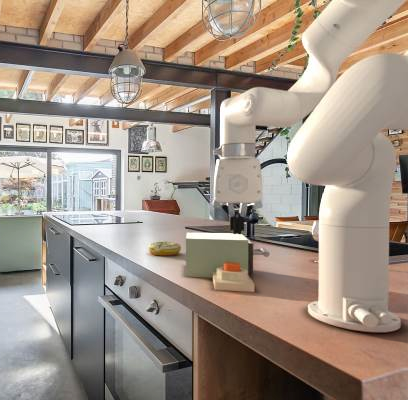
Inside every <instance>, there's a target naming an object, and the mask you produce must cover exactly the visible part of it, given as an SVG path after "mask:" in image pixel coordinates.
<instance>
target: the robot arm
mask: <svg viewBox="0 0 408 400" xmlns="http://www.w3.org/2000/svg"><path fill="white" fill-rule="evenodd" d="M407 1H408V0H331V1H330V2H329V3H328V4H327V5H326V7H325V8H323V10H322V11H321V12H320V13H319V14H318V15H317V16H316V18H315V19H314V20H313V21H312V23H311V24H310V25H309V26H308V27H307V28H306V29H305V30H304V31H303V33H302V36H301V43H302V46H303V48H304V49H305V51H306V53H307V54H308V58H309V59H308V64H307V67H306V69H305V71H304V72H303V74H302V75H301V76H300V77H299V78H298V80H297V81H296V82H295V83H294V84H293V85H292V86H291V87H290V88H289V89H288V90H283V89H277V88H270V87H265V86H255V87H252V88H249V89H248V90H246V91H244V92H243V93H241V94H239V95H237V96H231V97H228V98H226V99H224V100H222V102H221V103H220V110H219V111H220V112H219V121H220V122H219V147H218V148H214V149H213V156H218V157H219V159H216V162H215V167H214V179H213V201H212V207H213V208H215V209H219V210H223V211H224V212H225V213H226V214H227V215H228V216H229V231H232V234H239V235H241V234H242V231H245V217H246V216H247V215H248V214H249V213H250V212H251V211H253V210H257V209H262V208H263V201H262V200H263V178H262V167H261V161H260V158H256V126H260V127H272V128H282V129H283V128H289V127H290V128H291V127H293V126H294V125H296V124H298V123H300V122H301V121H302V120H304V119H305V118H306V117H307V116H308V117H307V118H306V120H305V121H304V122H303V124H302V125H301V126H300V128H299V129H298V130H297V132H296V133H295V135H294V136H293V138H292V139H291V142H290V144H289V147H288V149H287V153H286V155H287V156H286V162H287V167H288V169H289V172H290V173H291V174H292V175H293V177H294V178H295V179H297V180H298V181H300V182H302V183H304V184H307V185H311V186H322V187H325V188H324V191H323V193H322V197H321V201H320V205H319V213H318V221H319V242H318V260H319V263H318V299H317V300H314V301H312V302H310V303H309V304H308V305H307V312H308V314H309V315H310V316H311V317H312V318H313V319H316V320H317V321H319V322H321V323H323V324H324V323H325V324H327V325H331V326H333V327H338V328H341V329H346V330H351V331H357V332H358V331H359V332H365V333H391V332H396V331H397V330H399V329H400V328H401V326H402V321H401V320H402V319H401V318H400V317H399V316H398V315H397V314H395V313H393V312H392V311H389V278H390V277H389V272H390V271H389V270H390V269H389V267H390V217H391V212H390V211H391V199H392V197H391V196H392V189H393V185H394V184H393V183H394V179H395V175H396V169H397V160H398V159H397V151H396V148H395V146H394V144H393V143H392V141H391V140H390V139H389V138H388V137H387V136H386V135H385V134H383V130H393V131H408V49H407V50H406V51H405V52H404V53H403V54H401V53H397V52H381V53H377V54H376V53H375V54H372V55H370V56H367V57H365V58H363V59H361V60H359V61H357V62H356V63H355V64H352V65H351V66H350V67H349V68H347V69H346V70H345V71H344V72H343V73H342V74H341V75H340V76H339V77H338V75H339V72H340V68H341V66H342V64H343V63H344V62H345V61H346V60H347V59H348V58H349V57H350V56H351V55H352V54H353V53H354V52H355V51H356V50H357V49H358V48H359V47H360V46H361V45H362V44H363V43H365V41H366V40H368V39H369V38H370V37H371V35H372V34H374V33H375V32H376V31H377V30H378V29H379V28H380V27H381V26H382V25H383V24H384V23H385V22H386V21H387V20H389V18H391V16H393V14H395V13H396V11H398V10H399V9H400V8H401V7H402V6H403V5H404V4H405V3H406V2H407ZM234 204H240V206H239V212H238V213H237V214H236V213H235V206H234Z"/></svg>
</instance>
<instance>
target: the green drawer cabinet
mask: <svg viewBox="0 0 408 400" xmlns="http://www.w3.org/2000/svg"><path fill="white" fill-rule="evenodd" d="M245 237H246V236H245V235H243V234H242V233H241V235H239V234H233V232H232V233H230V232H229V233H228V232H227V233H225V232H222V233H221V232H186V235H185V277H189V278H190V277H191V278H207V279H209V278H211V279H212V272H217V268H219V267H224V263H225V262H236V263H240V268H243V269H246V270H247V271H248V240H249V238H247V237H246V238H245Z"/></svg>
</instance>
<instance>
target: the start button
mask: <svg viewBox="0 0 408 400" xmlns="http://www.w3.org/2000/svg"><path fill="white" fill-rule="evenodd" d="M224 271H229V272H240V263H236V262H225V263H224Z"/></svg>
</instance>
